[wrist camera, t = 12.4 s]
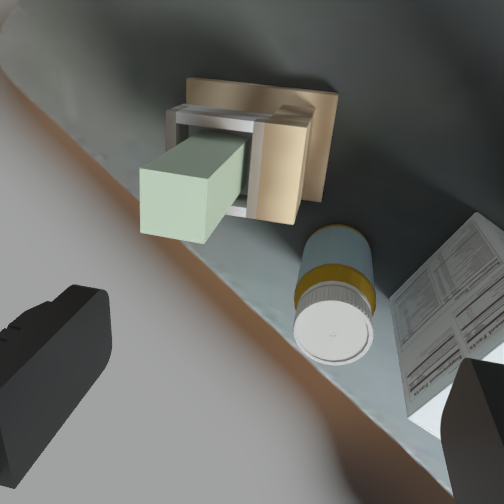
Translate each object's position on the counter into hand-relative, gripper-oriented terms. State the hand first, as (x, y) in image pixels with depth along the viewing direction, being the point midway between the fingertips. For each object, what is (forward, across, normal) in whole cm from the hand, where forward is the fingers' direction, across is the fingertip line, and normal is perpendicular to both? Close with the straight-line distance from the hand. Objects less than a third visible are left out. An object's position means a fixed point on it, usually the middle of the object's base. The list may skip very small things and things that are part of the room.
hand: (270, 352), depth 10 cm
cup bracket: (+36, +7, +3) cm, 37 cm away
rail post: (+27, +8, +3) cm, 28 cm away
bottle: (+36, -3, +14) cm, 39 cm away
